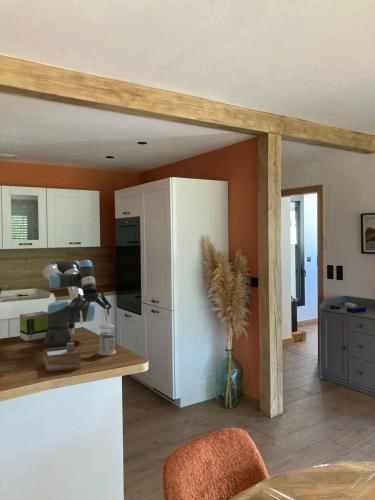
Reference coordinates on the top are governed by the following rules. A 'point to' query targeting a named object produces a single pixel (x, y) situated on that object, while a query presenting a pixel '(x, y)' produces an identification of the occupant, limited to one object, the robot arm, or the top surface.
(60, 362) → the lid box
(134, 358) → the top surface
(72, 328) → the coffee cup
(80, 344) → the top surface
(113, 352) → the french press
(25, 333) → the tea box
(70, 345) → the grey l-shaped block
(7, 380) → the top surface
